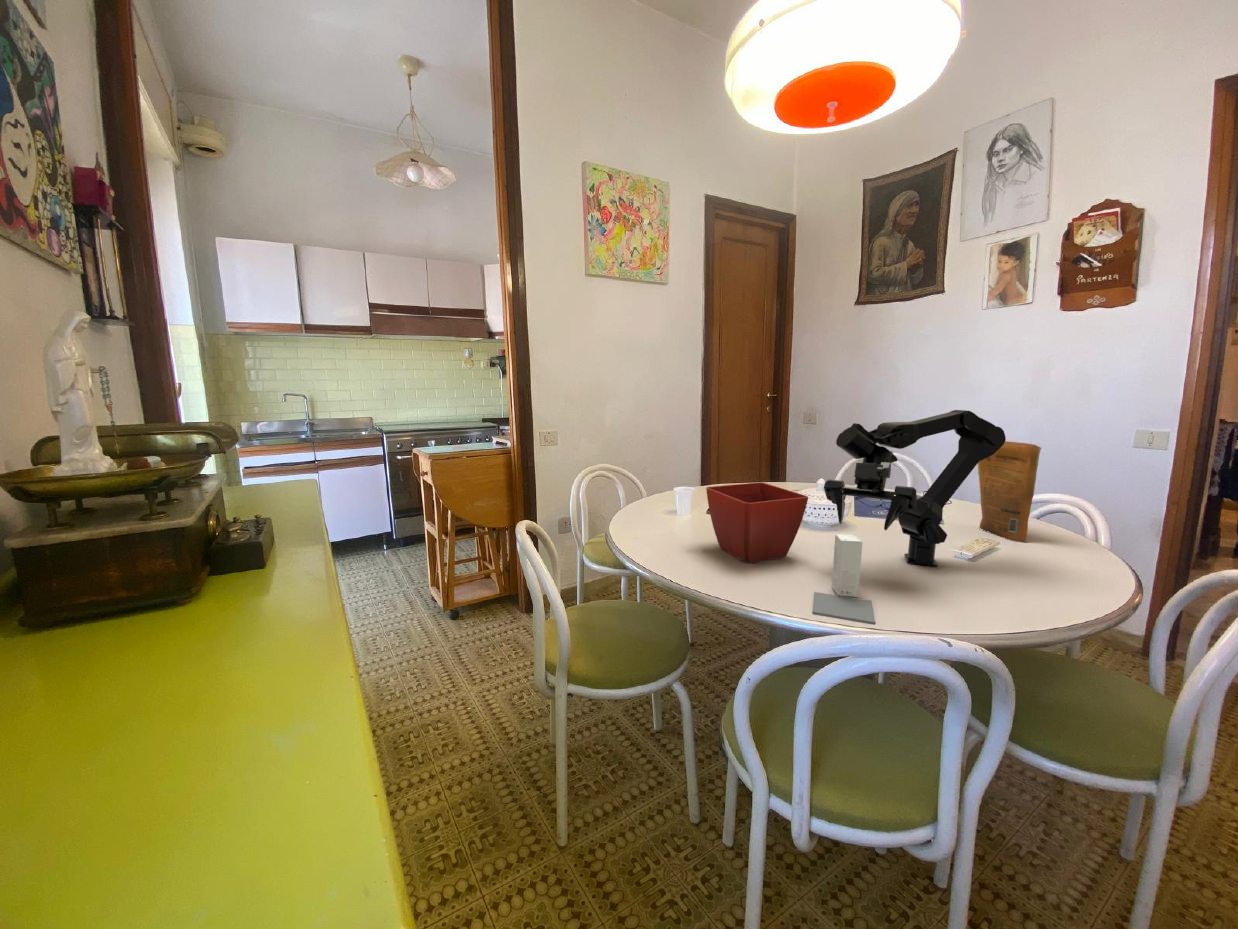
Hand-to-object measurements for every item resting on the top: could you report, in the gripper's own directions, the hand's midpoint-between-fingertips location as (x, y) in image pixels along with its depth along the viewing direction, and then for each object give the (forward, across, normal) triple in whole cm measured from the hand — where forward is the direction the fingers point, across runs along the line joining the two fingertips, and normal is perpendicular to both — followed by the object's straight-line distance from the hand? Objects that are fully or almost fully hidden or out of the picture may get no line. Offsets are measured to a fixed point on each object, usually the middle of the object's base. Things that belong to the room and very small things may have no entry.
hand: (862, 525), depth 109 cm
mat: (+20, 0, -3) cm, 21 cm away
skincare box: (+15, -1, +3) cm, 15 cm away
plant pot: (+6, -27, +12) cm, 30 cm away
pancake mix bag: (-33, +26, +56) cm, 70 cm away
